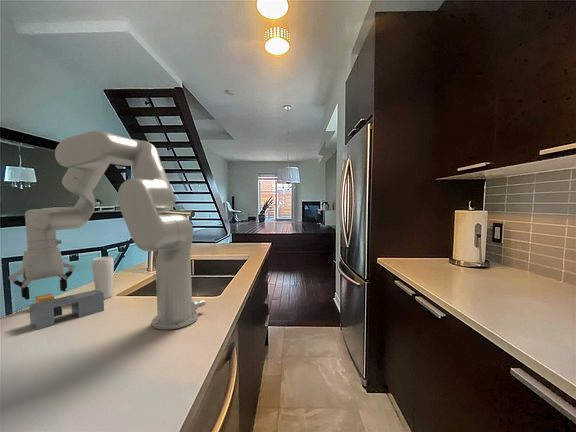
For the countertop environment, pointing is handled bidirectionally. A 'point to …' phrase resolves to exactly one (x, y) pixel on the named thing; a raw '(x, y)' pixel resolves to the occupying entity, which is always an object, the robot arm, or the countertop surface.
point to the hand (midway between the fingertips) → (45, 294)
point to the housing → (79, 302)
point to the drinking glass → (103, 275)
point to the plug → (45, 298)
